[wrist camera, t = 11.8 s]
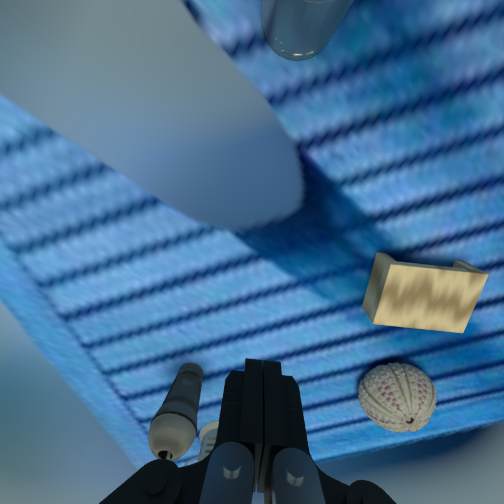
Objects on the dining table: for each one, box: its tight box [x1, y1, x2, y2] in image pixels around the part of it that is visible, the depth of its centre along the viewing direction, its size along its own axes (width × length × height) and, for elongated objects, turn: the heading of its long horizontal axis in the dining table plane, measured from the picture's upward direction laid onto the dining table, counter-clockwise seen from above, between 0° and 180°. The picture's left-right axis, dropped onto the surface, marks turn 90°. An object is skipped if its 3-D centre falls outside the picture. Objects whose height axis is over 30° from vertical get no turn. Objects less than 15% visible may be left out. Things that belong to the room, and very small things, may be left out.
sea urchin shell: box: [358, 362, 437, 433], centre depth 48 cm, size 13×14×8 cm
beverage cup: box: [149, 363, 203, 461], centre depth 43 cm, size 7×7×20 cm
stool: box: [362, 252, 489, 333], centre depth 43 cm, size 10×5×14 cm
